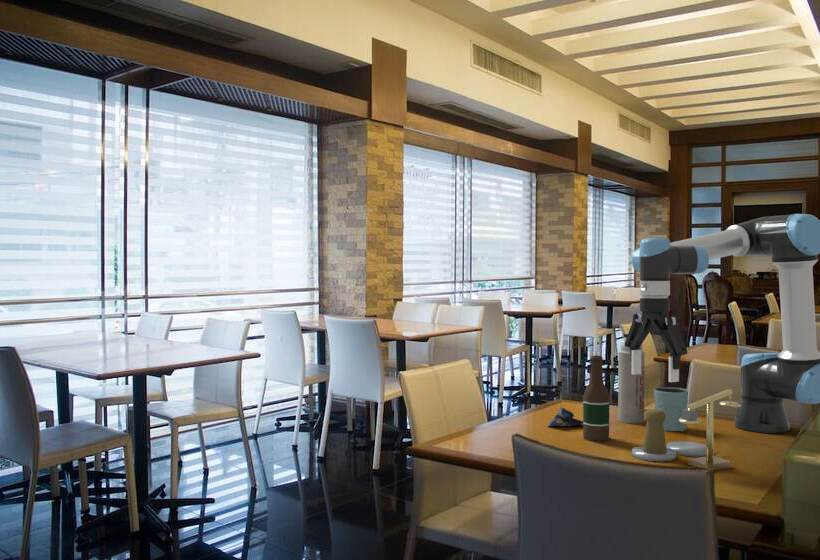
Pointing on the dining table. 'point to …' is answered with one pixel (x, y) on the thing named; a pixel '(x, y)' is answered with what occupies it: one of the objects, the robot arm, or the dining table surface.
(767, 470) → the dining table surface
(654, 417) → the pepper shaker
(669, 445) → the dish high end
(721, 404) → the balance
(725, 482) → the dining table surface
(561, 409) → the snack package
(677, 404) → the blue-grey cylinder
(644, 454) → the dish low end
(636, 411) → the thermos bottle
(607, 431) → the beer bottle
